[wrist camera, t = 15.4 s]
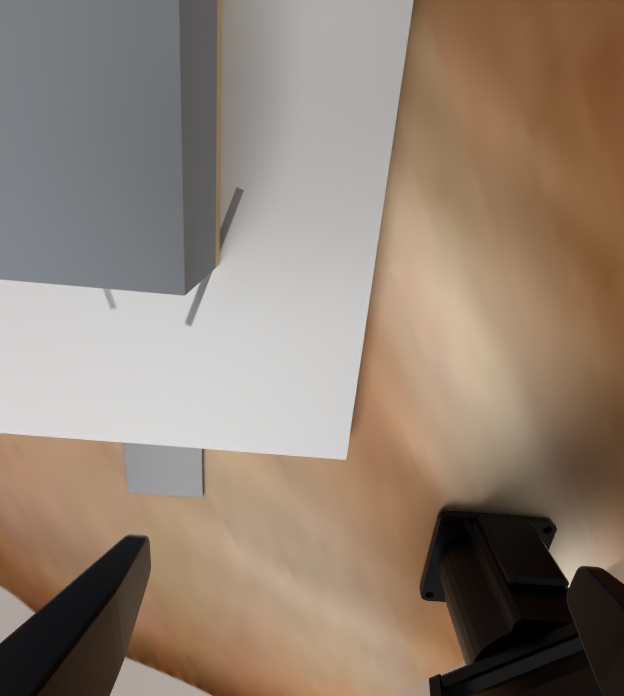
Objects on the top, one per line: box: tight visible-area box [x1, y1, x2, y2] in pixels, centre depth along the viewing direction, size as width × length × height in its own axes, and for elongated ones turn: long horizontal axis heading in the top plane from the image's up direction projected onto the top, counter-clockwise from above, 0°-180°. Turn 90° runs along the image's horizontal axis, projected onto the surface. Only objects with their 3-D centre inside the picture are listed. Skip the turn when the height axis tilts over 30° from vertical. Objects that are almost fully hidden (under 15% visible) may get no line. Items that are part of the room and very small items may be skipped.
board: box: [0, 0, 414, 460], centre depth 17 cm, size 22×18×2 cm
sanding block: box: [0, 0, 223, 296], centre depth 13 cm, size 9×6×5 cm, turn 175°
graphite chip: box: [123, 442, 204, 498], centre depth 22 cm, size 4×4×1 cm
